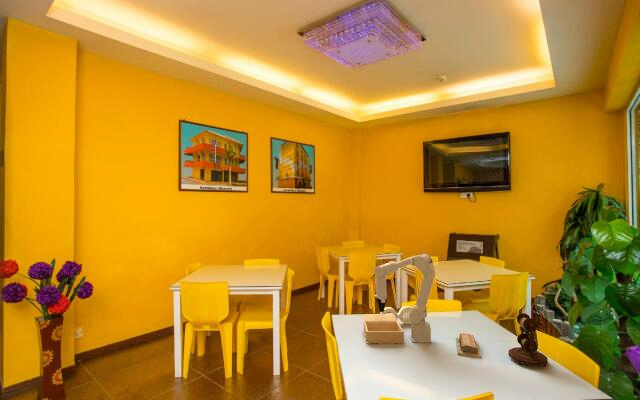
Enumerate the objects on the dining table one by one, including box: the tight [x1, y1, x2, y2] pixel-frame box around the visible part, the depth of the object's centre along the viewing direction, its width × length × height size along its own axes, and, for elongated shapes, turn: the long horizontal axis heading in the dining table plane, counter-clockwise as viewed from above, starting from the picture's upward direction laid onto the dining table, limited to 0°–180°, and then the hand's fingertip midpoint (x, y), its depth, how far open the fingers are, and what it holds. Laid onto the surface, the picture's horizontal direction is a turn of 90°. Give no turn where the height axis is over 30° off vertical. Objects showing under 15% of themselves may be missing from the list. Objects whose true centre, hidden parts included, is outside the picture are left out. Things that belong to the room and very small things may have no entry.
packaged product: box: [455, 332, 482, 359], centre depth 159 cm, size 18×5×10 cm
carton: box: [363, 321, 405, 345], centre depth 173 cm, size 19×14×6 cm
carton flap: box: [363, 313, 397, 322], centre depth 184 cm, size 17×7×1 cm, turn 88°
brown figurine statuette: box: [508, 312, 549, 367], centre depth 146 cm, size 15×15×20 cm
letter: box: [379, 305, 413, 325], centre depth 192 cm, size 22×2×10 cm, turn 99°
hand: (381, 311), depth 183 cm, fingers closed
